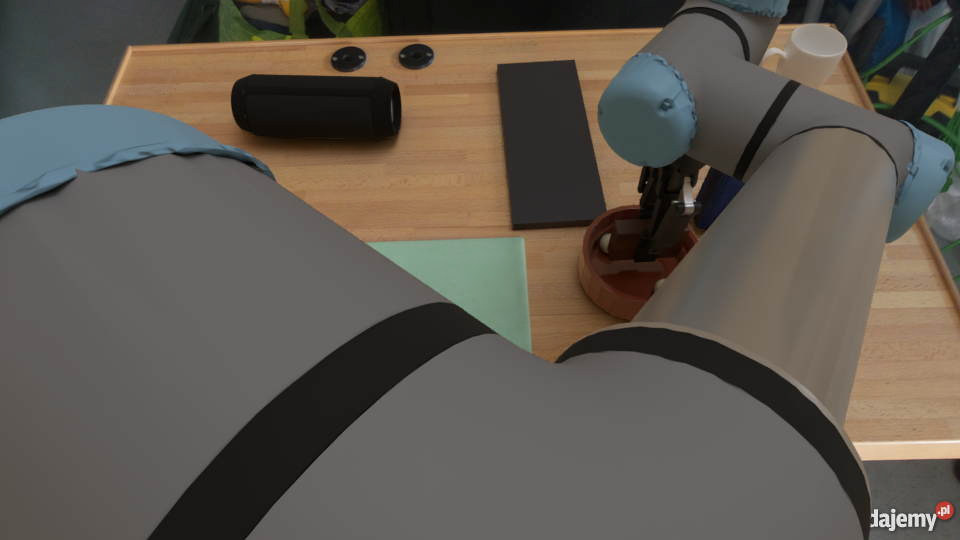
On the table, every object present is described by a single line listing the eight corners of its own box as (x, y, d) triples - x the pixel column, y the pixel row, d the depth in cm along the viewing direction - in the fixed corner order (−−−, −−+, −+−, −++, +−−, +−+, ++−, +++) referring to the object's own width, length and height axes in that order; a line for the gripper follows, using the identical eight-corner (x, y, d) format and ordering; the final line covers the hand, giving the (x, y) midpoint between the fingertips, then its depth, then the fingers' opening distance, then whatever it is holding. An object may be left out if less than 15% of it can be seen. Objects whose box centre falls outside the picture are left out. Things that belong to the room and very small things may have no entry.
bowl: (672, 342, 74) (684, 321, 68) (561, 298, 78) (565, 275, 72) (702, 252, 81) (715, 227, 76) (599, 217, 85) (605, 190, 80)
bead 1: (617, 258, 78) (616, 242, 77) (597, 255, 80) (596, 239, 78) (622, 247, 80) (622, 231, 79) (603, 244, 82) (603, 228, 80)
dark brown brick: (677, 257, 75) (690, 230, 70) (609, 261, 75) (617, 234, 70) (673, 243, 76) (686, 216, 71) (607, 247, 76) (614, 220, 71)
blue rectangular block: (784, 207, 85) (855, 102, 68) (794, 236, 82) (871, 134, 65) (686, 208, 85) (732, 104, 68) (693, 237, 82) (743, 136, 65)
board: (607, 224, 84) (608, 218, 83) (512, 230, 84) (512, 224, 83) (573, 66, 103) (574, 59, 102) (497, 70, 103) (497, 63, 102)
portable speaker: (405, 112, 98) (396, 63, 90) (396, 154, 93) (386, 106, 84) (262, 108, 100) (240, 60, 91) (245, 149, 95) (220, 102, 86)
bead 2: (665, 305, 76) (675, 301, 73) (647, 295, 76) (656, 291, 73) (673, 287, 77) (683, 282, 74) (655, 277, 77) (664, 272, 74)
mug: (804, 80, 99) (836, 21, 89) (820, 113, 95) (856, 55, 85) (735, 83, 99) (760, 25, 90) (748, 117, 95) (776, 59, 85)
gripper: (755, 170, 52) (684, 298, 71) (710, 62, 60) (657, 204, 80) (673, 174, 52) (624, 302, 71) (639, 66, 60) (604, 207, 80)
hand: (642, 250), depth 75 cm, fingers closed on dark brown brick, 2 cm apart
